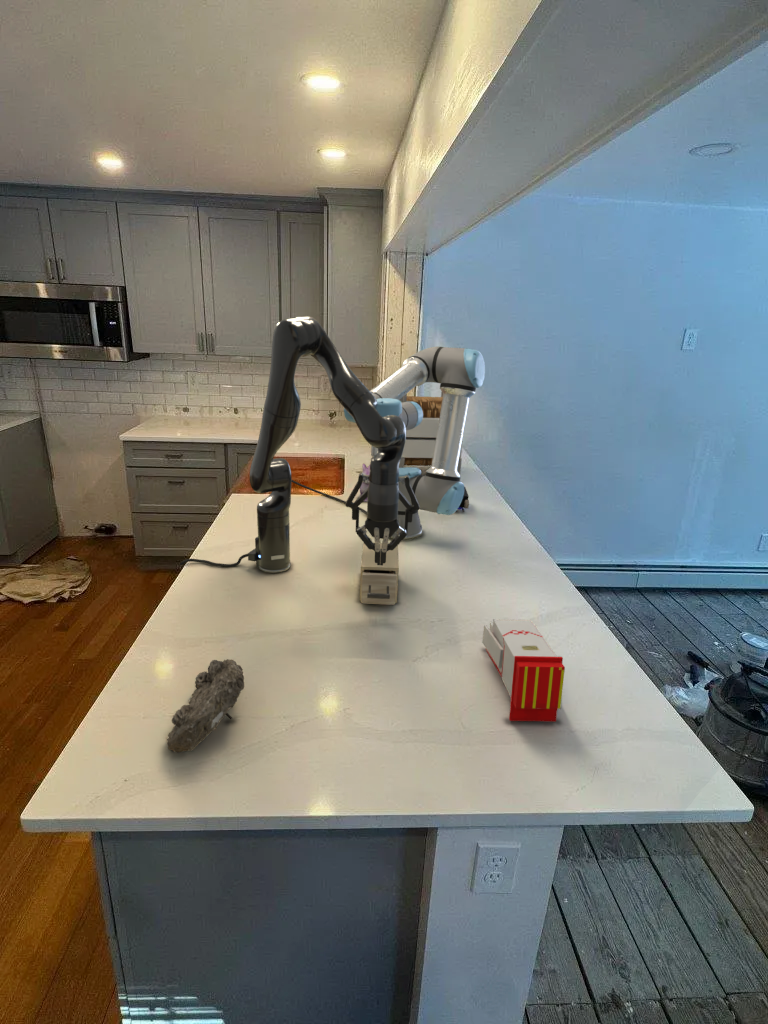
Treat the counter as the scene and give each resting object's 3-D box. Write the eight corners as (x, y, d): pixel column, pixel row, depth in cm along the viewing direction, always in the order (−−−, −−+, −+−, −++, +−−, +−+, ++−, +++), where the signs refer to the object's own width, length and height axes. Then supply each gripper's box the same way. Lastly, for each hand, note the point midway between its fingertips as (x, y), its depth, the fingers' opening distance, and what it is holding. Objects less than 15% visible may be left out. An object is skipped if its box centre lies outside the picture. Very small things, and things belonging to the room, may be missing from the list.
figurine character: (469, 517, 223) (463, 501, 236) (471, 500, 219) (465, 484, 233) (452, 516, 222) (447, 500, 236) (454, 499, 219) (449, 483, 232)
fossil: (192, 660, 117) (244, 628, 112) (224, 691, 120) (276, 661, 115) (142, 746, 98) (202, 712, 93) (182, 779, 101) (242, 748, 96)
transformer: (382, 463, 289) (386, 382, 275) (445, 464, 293) (451, 384, 279) (390, 482, 257) (394, 392, 243) (460, 483, 261) (468, 394, 247)
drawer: (395, 616, 145) (396, 586, 142) (360, 614, 145) (361, 584, 142) (394, 579, 164) (395, 552, 161) (363, 577, 164) (364, 551, 161)
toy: (529, 604, 135) (573, 663, 106) (524, 656, 138) (566, 727, 109) (478, 603, 135) (509, 662, 105) (474, 655, 137) (503, 727, 108)
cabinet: (396, 603, 153) (398, 568, 149) (359, 601, 153) (360, 566, 149) (396, 576, 168) (397, 543, 165) (362, 574, 168) (363, 542, 165)
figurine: (363, 503, 228) (365, 467, 223) (353, 496, 237) (354, 461, 232) (384, 501, 233) (386, 465, 227) (373, 493, 241) (374, 459, 236)
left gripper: (354, 502, 133) (352, 569, 139) (410, 505, 133) (406, 571, 139) (356, 493, 140) (354, 556, 146) (409, 495, 140) (406, 559, 146)
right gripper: (337, 459, 148) (335, 534, 155) (432, 463, 148) (426, 538, 155) (339, 452, 155) (337, 524, 162) (430, 456, 155) (425, 528, 162)
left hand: (380, 564), depth 143 cm, fingers closed
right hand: (381, 531), depth 158 cm, fingers open, 13 cm apart
